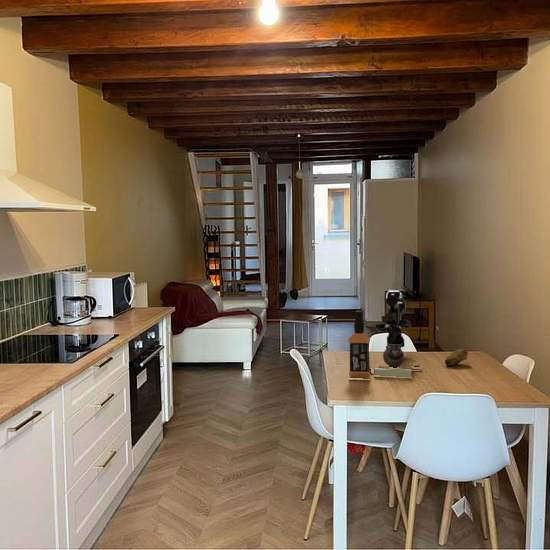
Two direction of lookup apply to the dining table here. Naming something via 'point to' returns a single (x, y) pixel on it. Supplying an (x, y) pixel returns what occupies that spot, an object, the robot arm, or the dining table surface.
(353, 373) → the whiskey bottle
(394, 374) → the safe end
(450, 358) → the olive brown frog figurine
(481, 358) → the dining table surface
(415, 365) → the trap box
